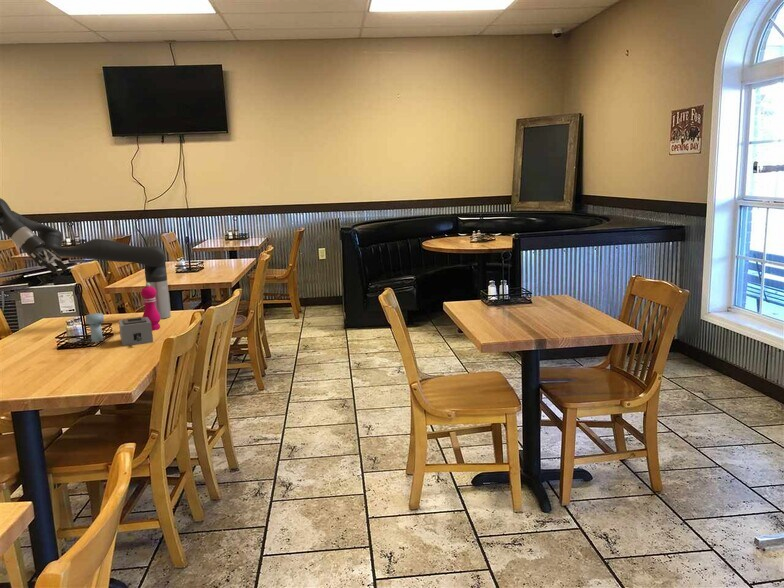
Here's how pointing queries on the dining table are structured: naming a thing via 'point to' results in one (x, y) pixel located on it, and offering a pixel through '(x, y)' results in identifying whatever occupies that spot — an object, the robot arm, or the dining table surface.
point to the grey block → (135, 330)
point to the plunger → (137, 336)
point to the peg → (95, 326)
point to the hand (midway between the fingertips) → (61, 270)
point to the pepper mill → (150, 306)
